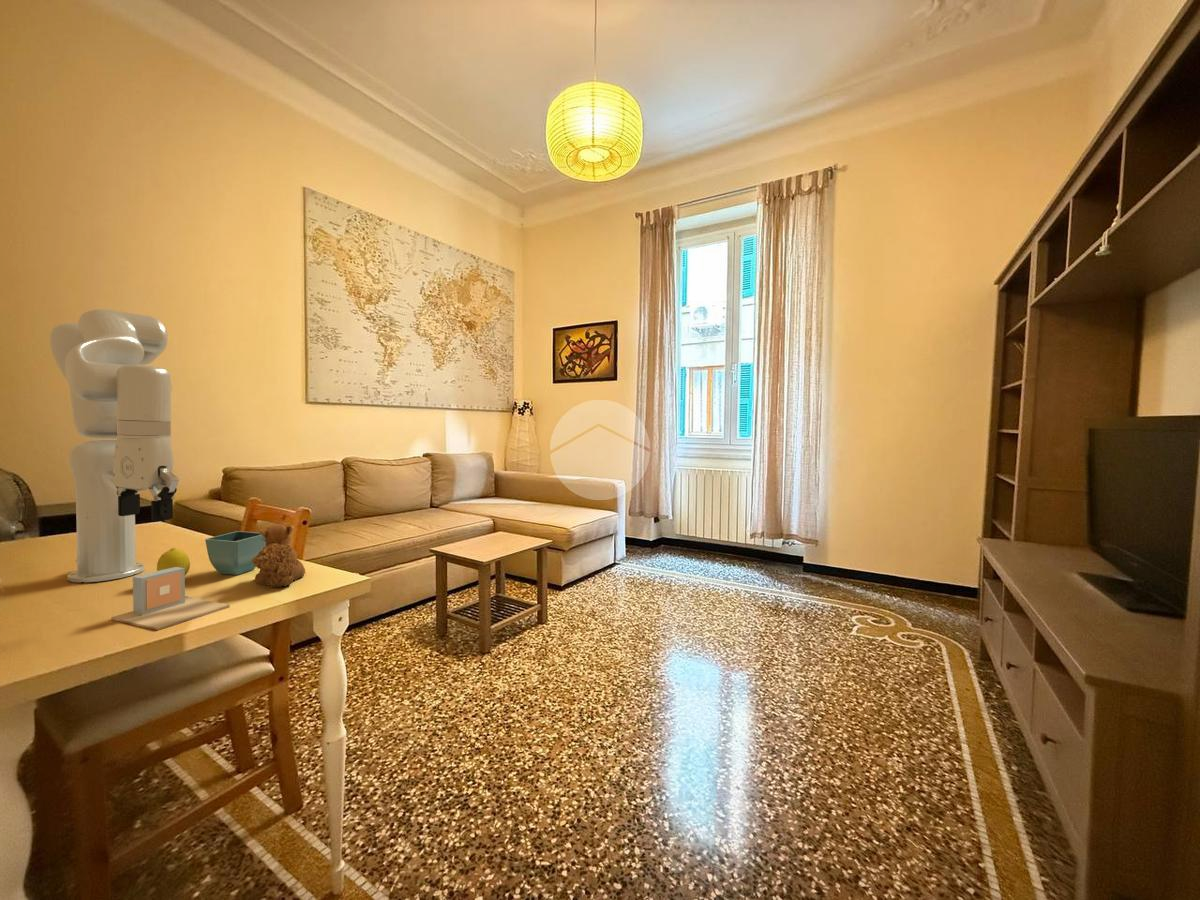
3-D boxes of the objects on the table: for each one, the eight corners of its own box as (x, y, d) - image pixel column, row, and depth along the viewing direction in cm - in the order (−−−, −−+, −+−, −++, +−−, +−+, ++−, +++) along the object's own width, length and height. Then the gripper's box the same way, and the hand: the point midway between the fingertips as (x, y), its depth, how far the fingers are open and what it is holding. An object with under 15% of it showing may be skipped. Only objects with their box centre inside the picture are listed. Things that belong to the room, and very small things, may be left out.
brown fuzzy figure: (305, 571, 119) (305, 519, 118) (303, 588, 106) (303, 530, 106) (256, 577, 114) (256, 522, 113) (248, 595, 101) (247, 534, 101)
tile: (133, 613, 90) (132, 576, 89) (176, 601, 96) (176, 566, 96) (142, 615, 89) (142, 578, 88) (185, 602, 95) (185, 568, 95)
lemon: (170, 588, 104) (170, 552, 104) (150, 585, 106) (149, 550, 105) (196, 580, 110) (196, 546, 109) (177, 578, 111) (176, 544, 111)
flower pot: (235, 579, 112) (235, 541, 111) (204, 576, 113) (203, 538, 113) (268, 568, 120) (267, 533, 120) (238, 565, 122) (237, 530, 122)
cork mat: (111, 619, 88) (111, 617, 88) (185, 597, 99) (185, 596, 99) (157, 630, 83) (157, 628, 83) (229, 606, 95) (229, 604, 95)
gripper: (91, 427, 91) (92, 516, 92) (150, 432, 86) (151, 526, 87) (139, 427, 98) (140, 510, 99) (197, 432, 93) (197, 519, 94)
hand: (145, 517), depth 93 cm, fingers open, 9 cm apart
